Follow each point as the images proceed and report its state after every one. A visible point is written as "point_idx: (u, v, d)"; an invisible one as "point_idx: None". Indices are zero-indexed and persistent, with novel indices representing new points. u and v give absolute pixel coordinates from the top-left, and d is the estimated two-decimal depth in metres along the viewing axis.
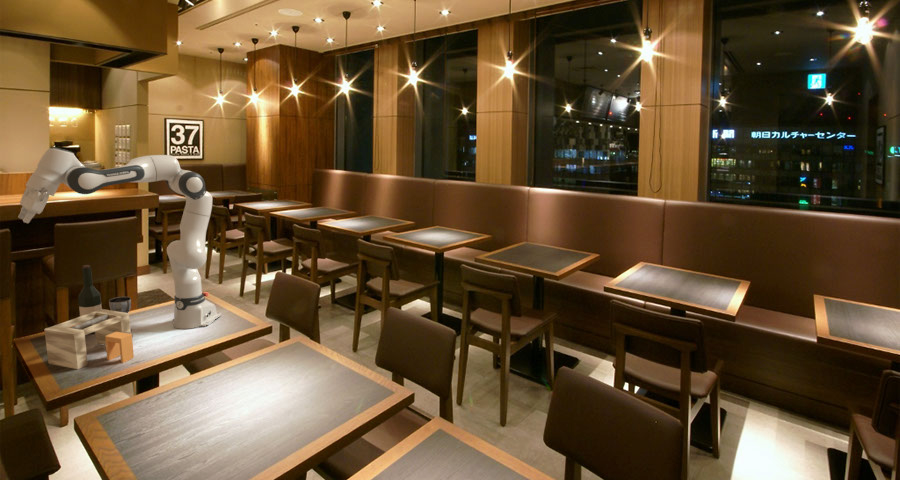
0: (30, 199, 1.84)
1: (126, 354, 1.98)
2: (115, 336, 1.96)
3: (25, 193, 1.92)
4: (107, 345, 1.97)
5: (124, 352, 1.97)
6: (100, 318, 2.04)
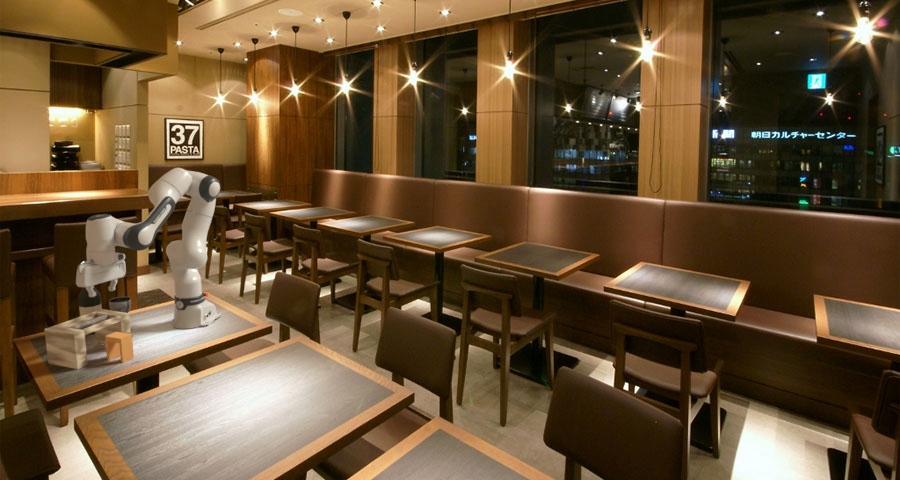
0: None
1: (126, 354, 1.98)
2: (115, 336, 1.96)
3: None
4: (107, 345, 1.97)
5: (124, 352, 1.97)
6: (100, 318, 2.04)
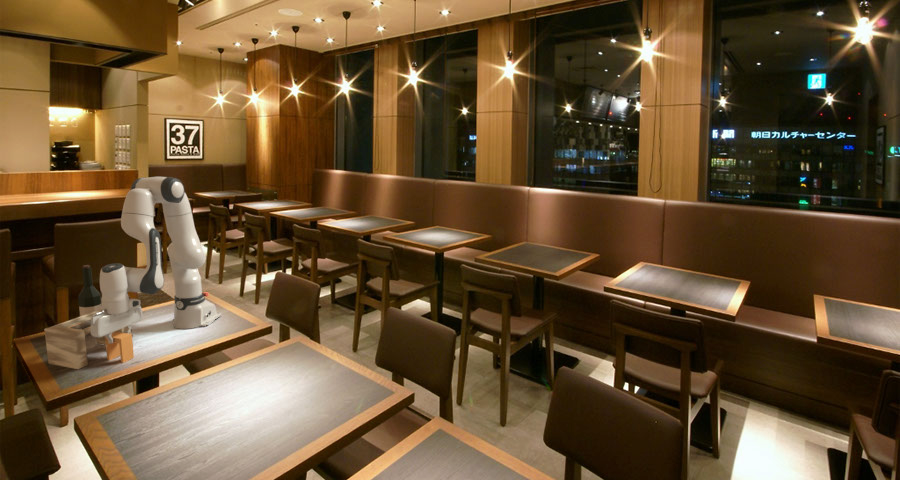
0: None
1: (126, 354, 1.98)
2: (115, 336, 1.96)
3: None
4: (107, 345, 1.97)
5: (124, 352, 1.97)
6: None
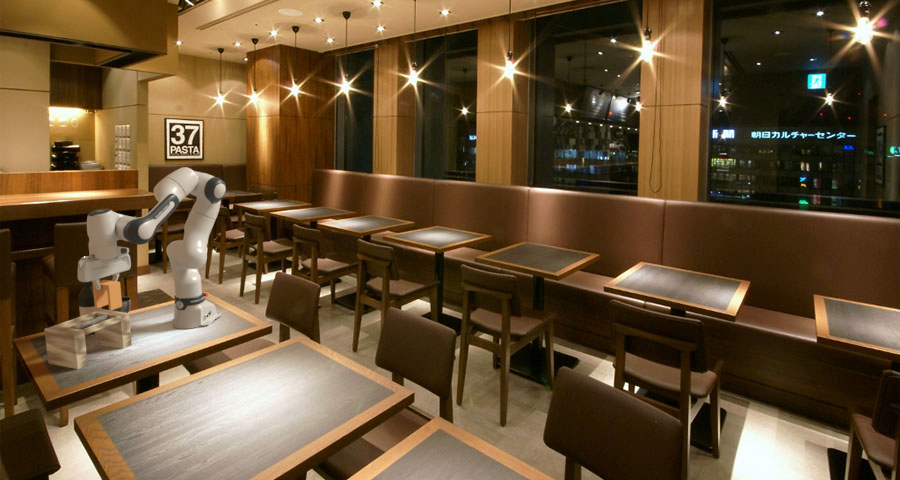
0: None
1: (114, 302, 1.94)
2: (103, 283, 1.93)
3: None
4: (95, 292, 1.93)
5: (112, 299, 1.93)
6: (100, 318, 2.04)
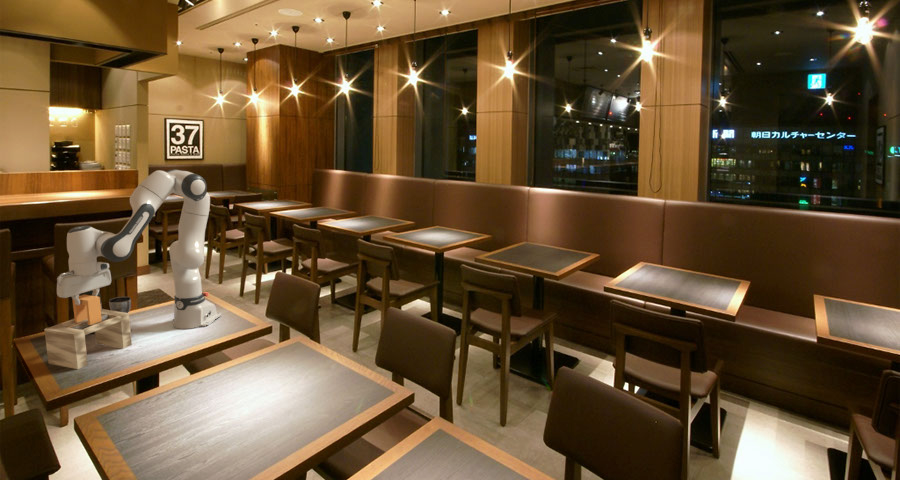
0: None
1: (93, 316, 1.98)
2: (82, 298, 1.96)
3: None
4: (74, 307, 1.97)
5: (92, 314, 1.97)
6: None
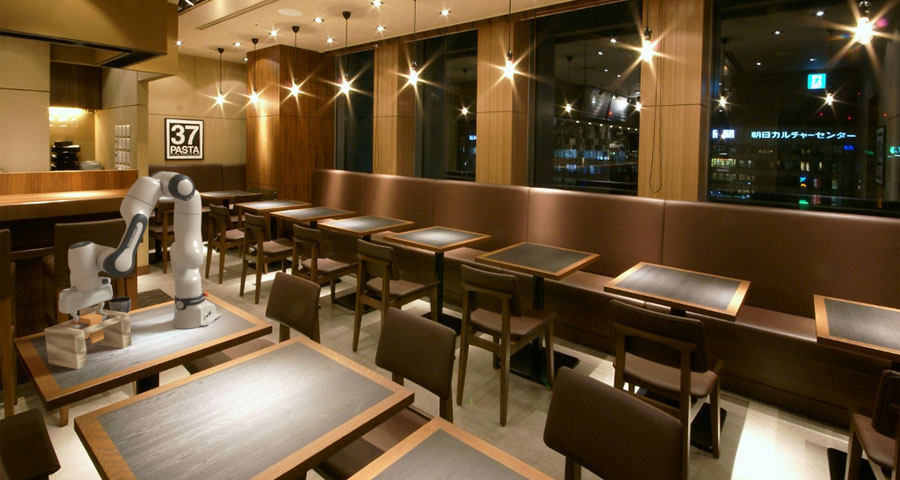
0: None
1: (96, 335, 2.00)
2: (85, 317, 1.98)
3: None
4: None
5: (94, 333, 1.99)
6: None
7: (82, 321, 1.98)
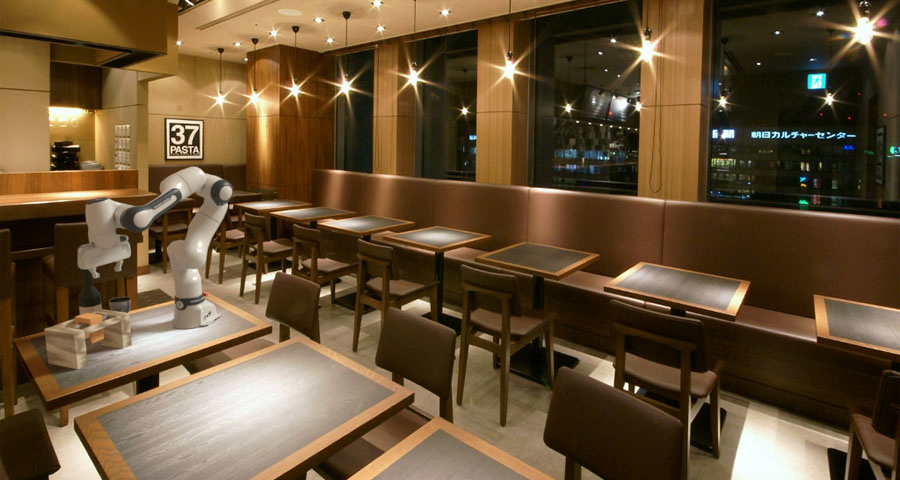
0: None
1: (96, 335, 2.00)
2: (85, 317, 1.98)
3: None
4: None
5: (94, 333, 1.99)
6: None
7: (82, 321, 1.98)
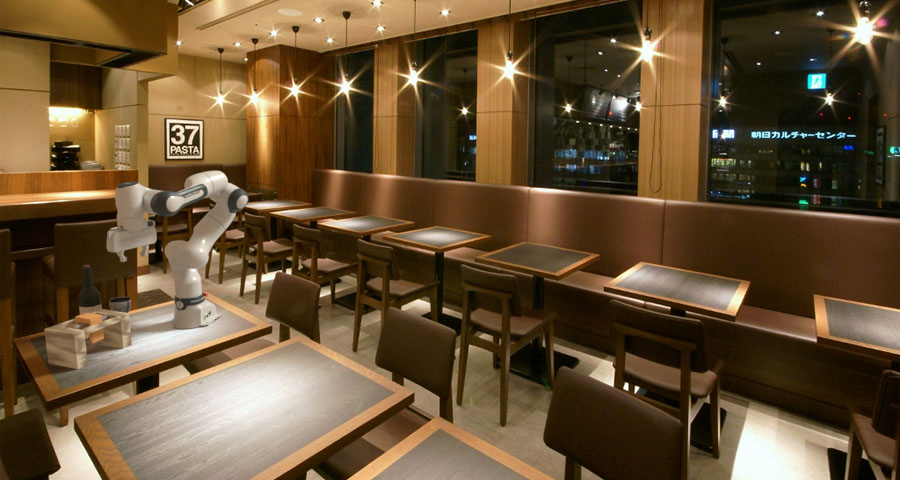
0: None
1: (96, 335, 2.00)
2: (85, 317, 1.98)
3: None
4: None
5: (94, 333, 1.99)
6: None
7: (82, 321, 1.98)
